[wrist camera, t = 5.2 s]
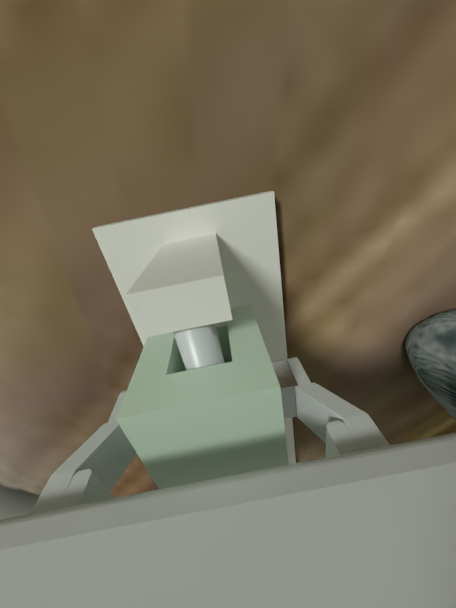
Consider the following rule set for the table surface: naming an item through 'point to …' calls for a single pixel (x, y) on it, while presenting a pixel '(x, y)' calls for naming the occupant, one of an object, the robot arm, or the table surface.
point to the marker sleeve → (206, 408)
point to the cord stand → (201, 276)
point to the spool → (436, 357)
